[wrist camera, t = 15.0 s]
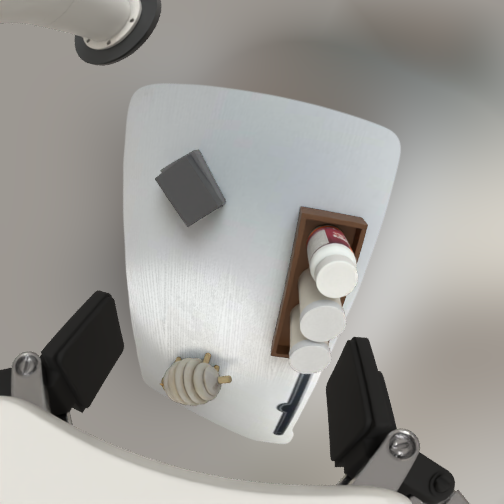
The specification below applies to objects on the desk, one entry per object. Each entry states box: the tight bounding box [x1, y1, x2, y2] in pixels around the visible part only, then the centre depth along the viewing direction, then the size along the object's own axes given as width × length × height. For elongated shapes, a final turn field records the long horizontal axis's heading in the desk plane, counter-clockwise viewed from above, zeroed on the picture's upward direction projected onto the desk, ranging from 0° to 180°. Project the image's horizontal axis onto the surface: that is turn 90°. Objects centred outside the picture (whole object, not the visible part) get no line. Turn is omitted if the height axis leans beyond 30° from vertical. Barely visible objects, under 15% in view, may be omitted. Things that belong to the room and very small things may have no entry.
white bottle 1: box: [298, 268, 346, 342], centre depth 39 cm, size 6×6×11 cm
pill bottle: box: [307, 225, 358, 298], centre depth 36 cm, size 6×6×11 cm
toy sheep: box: [160, 353, 232, 406], centre depth 52 cm, size 11×17×11 cm, turn 116°
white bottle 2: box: [289, 304, 331, 374], centre depth 42 cm, size 6×6×11 cm
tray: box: [271, 207, 368, 358], centre depth 44 cm, size 28×10×3 cm, turn 173°
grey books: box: [155, 150, 226, 227], centre depth 38 cm, size 9×6×5 cm
